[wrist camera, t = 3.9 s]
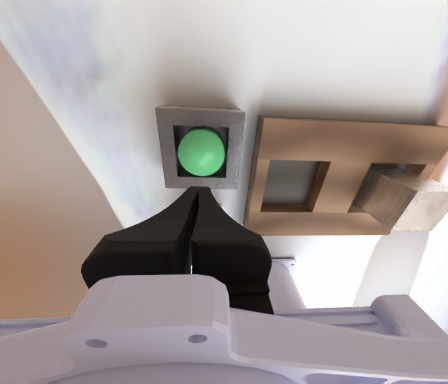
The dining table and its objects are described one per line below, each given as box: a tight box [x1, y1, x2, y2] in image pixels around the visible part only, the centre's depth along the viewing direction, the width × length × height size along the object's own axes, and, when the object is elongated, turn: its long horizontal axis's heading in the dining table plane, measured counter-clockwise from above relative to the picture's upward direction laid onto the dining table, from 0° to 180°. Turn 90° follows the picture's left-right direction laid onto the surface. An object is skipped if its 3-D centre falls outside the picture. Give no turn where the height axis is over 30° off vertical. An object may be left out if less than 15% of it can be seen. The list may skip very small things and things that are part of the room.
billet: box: [352, 167, 448, 231], centre depth 19 cm, size 4×4×6 cm
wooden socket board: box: [243, 116, 448, 236], centre depth 20 cm, size 14×20×2 cm
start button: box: [178, 126, 225, 176], centre depth 16 cm, size 4×4×3 cm
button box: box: [156, 105, 245, 189], centre depth 17 cm, size 7×7×4 cm
